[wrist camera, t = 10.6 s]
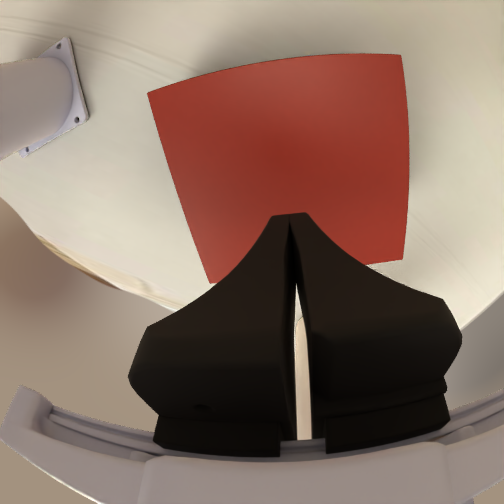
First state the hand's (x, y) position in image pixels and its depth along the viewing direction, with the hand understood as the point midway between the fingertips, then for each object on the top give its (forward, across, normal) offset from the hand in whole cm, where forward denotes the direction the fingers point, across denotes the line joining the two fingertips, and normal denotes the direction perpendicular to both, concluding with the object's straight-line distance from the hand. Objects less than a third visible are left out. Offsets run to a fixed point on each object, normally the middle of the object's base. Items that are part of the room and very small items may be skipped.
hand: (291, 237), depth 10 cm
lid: (+6, -1, 0) cm, 6 cm away
